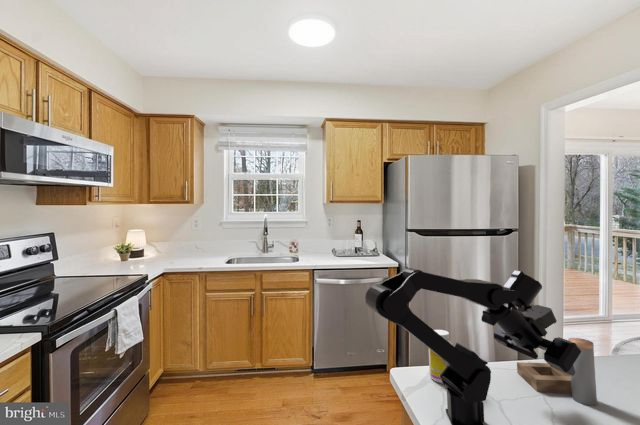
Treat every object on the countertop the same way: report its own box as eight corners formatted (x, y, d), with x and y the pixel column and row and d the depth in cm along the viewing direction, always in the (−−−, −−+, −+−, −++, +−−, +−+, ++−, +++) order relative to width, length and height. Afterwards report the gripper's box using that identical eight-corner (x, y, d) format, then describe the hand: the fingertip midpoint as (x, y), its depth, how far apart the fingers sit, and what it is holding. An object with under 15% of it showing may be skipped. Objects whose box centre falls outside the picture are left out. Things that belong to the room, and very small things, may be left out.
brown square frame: (536, 391, 79) (536, 379, 79) (517, 372, 89) (516, 362, 89) (579, 393, 77) (579, 381, 78) (555, 374, 87) (554, 363, 88)
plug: (575, 403, 73) (572, 343, 74) (568, 393, 78) (565, 336, 78) (601, 407, 71) (597, 346, 72) (592, 396, 76) (588, 339, 76)
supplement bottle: (457, 385, 83) (455, 336, 83) (431, 383, 84) (429, 335, 85) (452, 373, 89) (450, 328, 90) (428, 372, 91) (426, 327, 91)
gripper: (570, 304, 64) (615, 353, 66) (500, 288, 82) (536, 327, 84) (542, 346, 62) (589, 396, 64) (476, 320, 80) (514, 359, 82)
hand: (554, 365), depth 73 cm, fingers open, 9 cm apart
